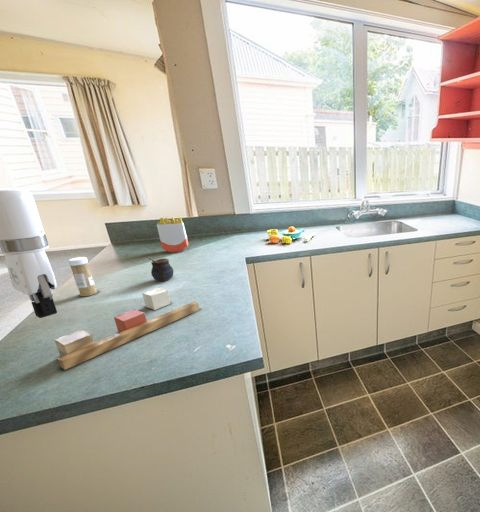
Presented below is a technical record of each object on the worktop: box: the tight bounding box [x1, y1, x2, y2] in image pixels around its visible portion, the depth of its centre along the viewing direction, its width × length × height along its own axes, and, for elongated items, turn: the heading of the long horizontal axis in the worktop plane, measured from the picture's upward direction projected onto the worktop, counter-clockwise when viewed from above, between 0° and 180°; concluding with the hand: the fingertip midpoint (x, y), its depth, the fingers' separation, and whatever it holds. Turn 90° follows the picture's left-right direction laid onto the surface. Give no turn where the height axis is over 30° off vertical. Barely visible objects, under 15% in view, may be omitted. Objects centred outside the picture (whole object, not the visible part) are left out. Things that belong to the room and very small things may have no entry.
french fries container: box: [156, 216, 189, 253], centre depth 153 cm, size 5×11×18 cm, turn 114°
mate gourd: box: [146, 256, 174, 282], centre depth 117 cm, size 7×8×10 cm
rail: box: [57, 301, 200, 371], centre depth 82 cm, size 32×2×2 cm, turn 155°
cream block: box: [141, 287, 172, 311], centre depth 97 cm, size 5×5×5 cm
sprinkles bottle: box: [67, 256, 98, 297], centre depth 103 cm, size 5×5×13 cm
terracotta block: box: [113, 309, 148, 333], centre depth 83 cm, size 5×5×5 cm
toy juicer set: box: [266, 225, 316, 245], centre depth 177 cm, size 29×18×8 cm, turn 107°
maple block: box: [54, 329, 95, 357], centre depth 72 cm, size 5×5×5 cm
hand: (47, 314), depth 73 cm, fingers closed
